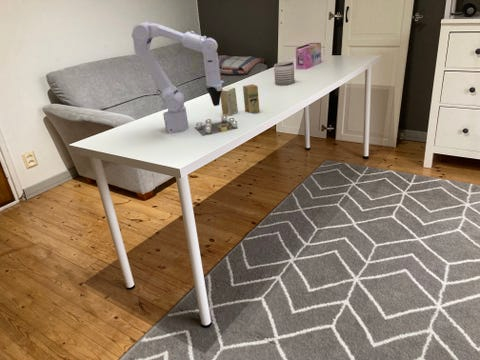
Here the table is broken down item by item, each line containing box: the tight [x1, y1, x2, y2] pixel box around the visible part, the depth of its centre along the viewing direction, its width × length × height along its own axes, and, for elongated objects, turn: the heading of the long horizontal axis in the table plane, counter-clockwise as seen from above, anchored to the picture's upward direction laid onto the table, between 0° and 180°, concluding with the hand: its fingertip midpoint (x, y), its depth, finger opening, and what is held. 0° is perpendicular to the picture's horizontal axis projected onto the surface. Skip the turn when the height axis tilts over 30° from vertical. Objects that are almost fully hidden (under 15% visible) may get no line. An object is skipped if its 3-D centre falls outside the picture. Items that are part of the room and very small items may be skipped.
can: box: [273, 60, 296, 87], centre depth 223 cm, size 11×11×12 cm
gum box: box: [295, 42, 322, 70], centre depth 265 cm, size 24×8×14 cm, turn 144°
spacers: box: [195, 115, 239, 135], centre depth 160 cm, size 15×12×2 cm
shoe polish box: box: [242, 84, 260, 115], centre depth 177 cm, size 5×5×12 cm
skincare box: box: [220, 86, 239, 117], centre depth 175 cm, size 6×4×12 cm
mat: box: [193, 119, 239, 137], centre depth 161 cm, size 15×13×1 cm
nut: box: [218, 124, 230, 133], centre depth 157 cm, size 4×5×2 cm
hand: (216, 105), depth 159 cm, fingers closed
